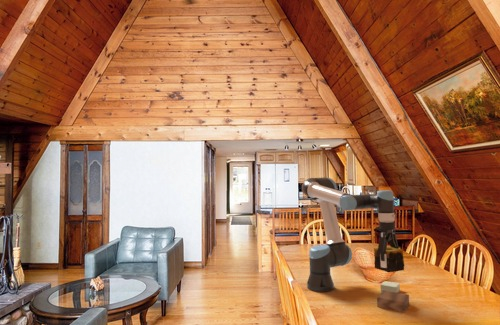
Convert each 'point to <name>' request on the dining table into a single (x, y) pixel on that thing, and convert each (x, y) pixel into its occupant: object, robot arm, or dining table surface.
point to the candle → (390, 259)
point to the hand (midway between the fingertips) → (389, 264)
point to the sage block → (390, 286)
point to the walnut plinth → (393, 301)
